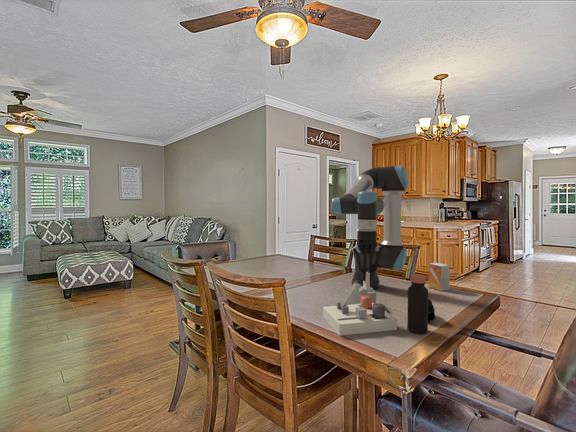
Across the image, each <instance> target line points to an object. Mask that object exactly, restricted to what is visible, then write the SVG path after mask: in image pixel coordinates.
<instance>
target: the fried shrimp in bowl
mask: <svg viewBox="0 0 576 432" xmlns="http://www.w3.org/2000/svg"><path fill="white" fill-rule="evenodd" d="M435 310H436V309H435V307H434V305H433V302H432V301H431V299H429V298H428V322H432V321H434V320H436V313H435V312H436V311H435Z"/></svg>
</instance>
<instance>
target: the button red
mask: <svg viewBox="0 0 576 432" xmlns="http://www.w3.org/2000/svg"><path fill="white" fill-rule="evenodd" d="M361 307H364V308H365V309H372V297H371V296H361Z"/></svg>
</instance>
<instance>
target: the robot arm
mask: <svg viewBox="0 0 576 432" xmlns="http://www.w3.org/2000/svg"><path fill="white" fill-rule="evenodd" d="M408 188H409V178H408V171H407V169H406V167H405V166H403V165H393V166H392V165H390V166H378V167H377V166H376V167H372V168H369V169H367V170H365V171H362V172H361V173H360V174H359V175H358V176H357V178H356V179H355V182H354V183H353V184H352V186H351V187H349V189H347V191H346V192H345V193H344V194H342V196H341V197H339V196H338V197H337V196H335V197H333V198H332V200H331V206H330V207H331V211H332V212H333V213H334V214H338V215H357V223H356V225H357V226H356V228H357V232H356V238H357V239H356V240H357V241H356V243H355V246H353V247H350V251H351V252H352V255H353V259H354V272H353V275H352V278H351V286H352V285H353V284H354V282H356V281H357V280H358V281H360V282H361V286H363V288H364V289H366V290H370V287H371V288H373V290H374V289H378V288H380V287H381V282H380V279H379V276H378V272H377V271H378V270H377V269H383V270H385V269H386V270H392V271H401V270H403V269H404V268H405V265H406V260H407V255H408V249H407V248H406V247H405V246H404V243H403V242H402V240H401V237H402V235H401V234H402V232H401V231H402V196H403V194H405V191H406V189H408ZM373 190H380V191H381V193H382V195H383V197H384V198H383V199H382V198H380V197H379V196H378V193H377V191H373ZM382 212H383V240H382V241H381V242H380V244H379V245H378V243H377V239H378V235H377V233H378V232H377V228H378V227H377V226H378V219H377V218H378V215H380V214H381V213H382Z"/></svg>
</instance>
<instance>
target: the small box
mask: <svg viewBox="0 0 576 432" xmlns="http://www.w3.org/2000/svg"><path fill="white" fill-rule="evenodd" d="M450 268H451V267H450V265H449V264H446V263H442V262H441V263H440V262H430V263H428V280H427V281H428V284H427V285H428V288H431V289H434V290H437V291H439V292H444V291H449V290H450V275H451V274H450V273H451V272H450Z"/></svg>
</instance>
